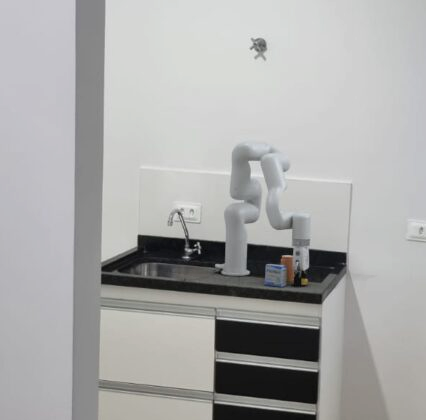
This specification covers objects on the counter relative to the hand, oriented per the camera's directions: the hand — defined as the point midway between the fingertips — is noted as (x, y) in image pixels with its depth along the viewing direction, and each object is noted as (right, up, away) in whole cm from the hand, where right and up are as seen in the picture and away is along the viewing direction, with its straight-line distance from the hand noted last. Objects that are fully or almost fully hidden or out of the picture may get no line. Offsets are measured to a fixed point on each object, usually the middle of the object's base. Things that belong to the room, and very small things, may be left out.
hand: (299, 284), depth 362 cm
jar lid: (0, +2, 0) cm, 2 cm away
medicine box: (-10, 0, -3) cm, 11 cm away
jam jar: (-6, +1, +10) cm, 12 cm away
